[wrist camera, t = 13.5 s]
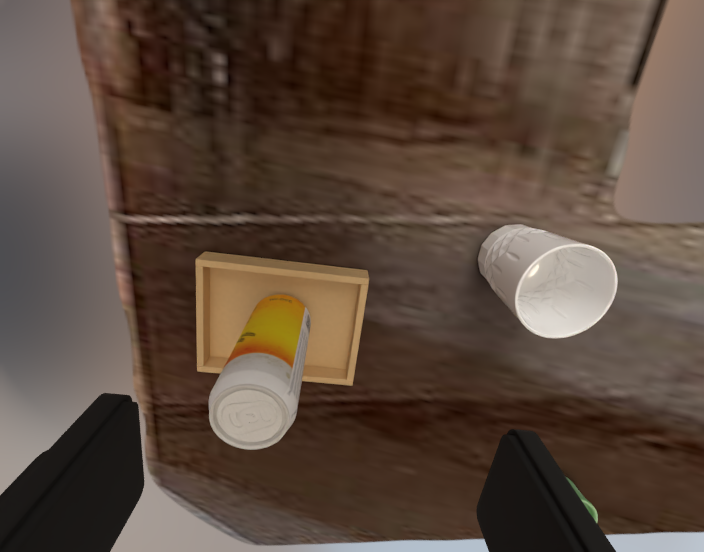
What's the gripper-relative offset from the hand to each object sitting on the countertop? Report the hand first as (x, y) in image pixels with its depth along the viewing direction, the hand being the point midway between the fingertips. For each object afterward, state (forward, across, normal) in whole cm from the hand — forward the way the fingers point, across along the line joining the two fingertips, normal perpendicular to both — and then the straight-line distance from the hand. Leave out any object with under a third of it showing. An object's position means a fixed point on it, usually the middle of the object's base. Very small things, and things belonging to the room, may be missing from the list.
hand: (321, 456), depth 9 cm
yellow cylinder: (+28, +4, +10) cm, 30 cm away
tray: (+28, +4, +11) cm, 30 cm away
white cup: (+28, -18, +1) cm, 34 cm away
